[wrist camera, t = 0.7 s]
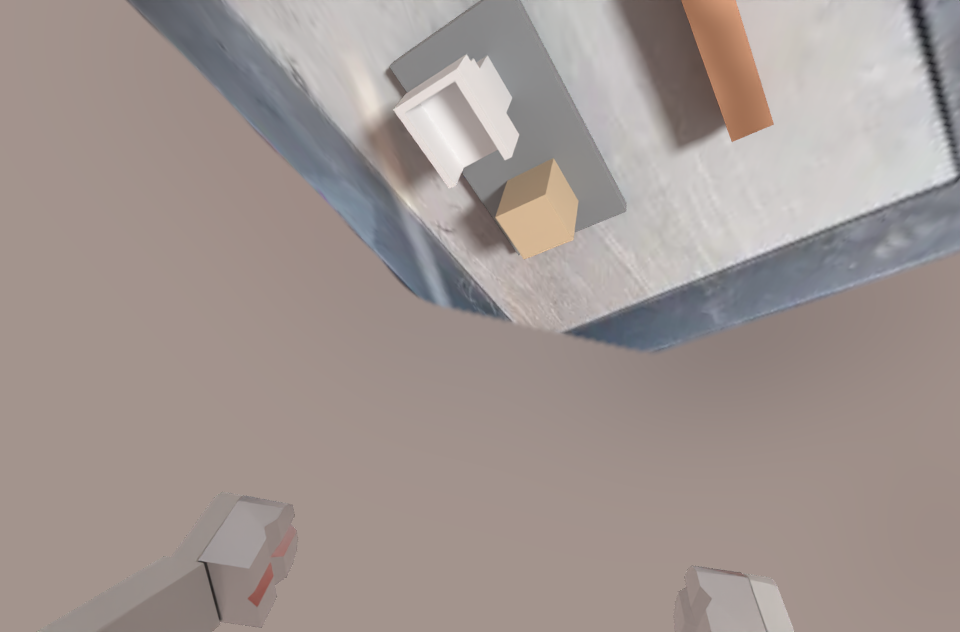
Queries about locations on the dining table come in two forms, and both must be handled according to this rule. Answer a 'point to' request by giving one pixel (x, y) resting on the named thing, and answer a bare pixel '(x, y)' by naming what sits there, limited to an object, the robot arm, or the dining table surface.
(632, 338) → the dining table surface
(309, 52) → the dining table surface
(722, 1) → the rail
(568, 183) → the rail stand
